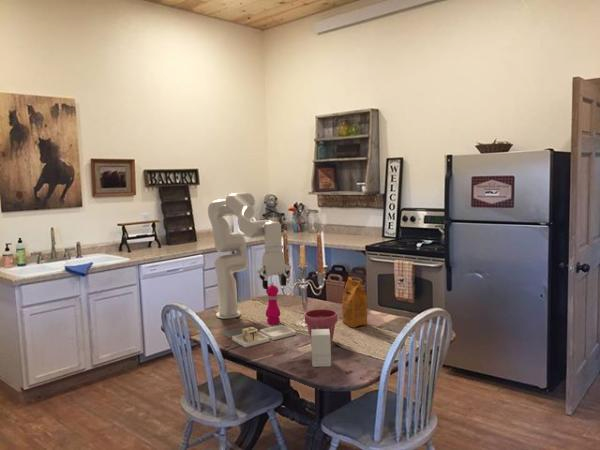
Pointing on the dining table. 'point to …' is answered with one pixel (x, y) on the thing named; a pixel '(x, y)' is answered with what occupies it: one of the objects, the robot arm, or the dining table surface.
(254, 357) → the dining table surface
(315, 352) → the supplement box
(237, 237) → the robot arm
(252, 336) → the letter cube
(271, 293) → the pepper mill
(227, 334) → the pad
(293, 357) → the dining table surface
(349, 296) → the coffee package
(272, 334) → the tray
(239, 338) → the tray
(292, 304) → the dining table surface
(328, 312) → the plant pot
